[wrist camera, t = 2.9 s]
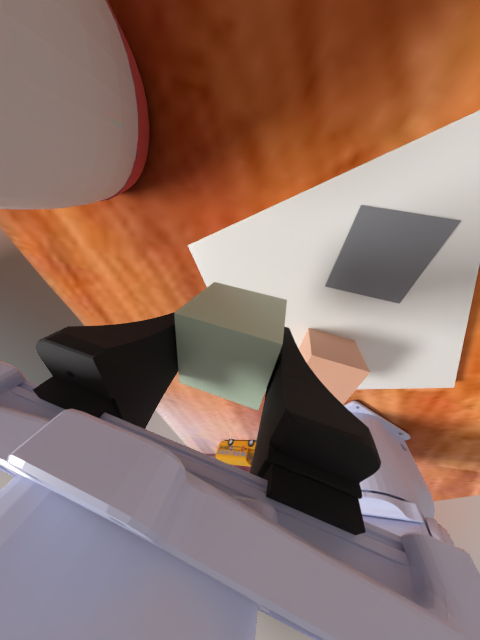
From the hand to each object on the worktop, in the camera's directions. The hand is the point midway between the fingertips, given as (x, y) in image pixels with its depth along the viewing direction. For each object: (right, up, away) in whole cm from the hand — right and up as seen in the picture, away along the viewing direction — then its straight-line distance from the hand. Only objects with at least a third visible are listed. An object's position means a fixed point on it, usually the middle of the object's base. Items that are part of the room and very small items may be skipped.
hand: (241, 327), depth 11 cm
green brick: (0, 0, +1) cm, 1 cm away
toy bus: (0, -27, +27) cm, 38 cm away
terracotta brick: (+9, -3, +8) cm, 13 cm away
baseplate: (+8, +1, +7) cm, 11 cm away
